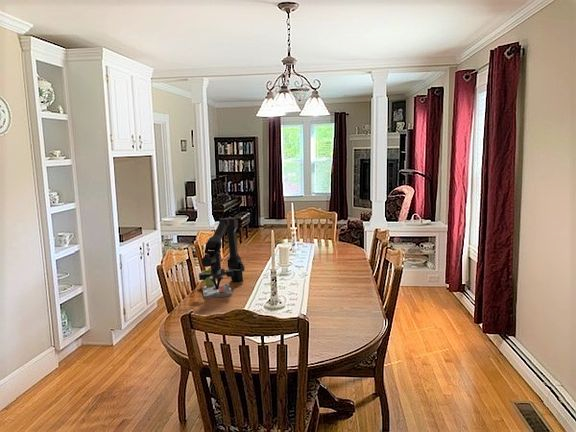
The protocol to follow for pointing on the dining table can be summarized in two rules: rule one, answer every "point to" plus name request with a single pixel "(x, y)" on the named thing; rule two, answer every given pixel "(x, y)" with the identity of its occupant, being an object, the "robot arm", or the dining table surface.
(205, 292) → the mixing board
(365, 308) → the dining table surface
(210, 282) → the plant pot
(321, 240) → the dining table surface
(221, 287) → the fader red
